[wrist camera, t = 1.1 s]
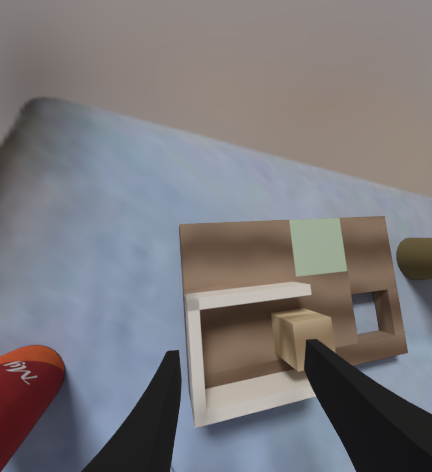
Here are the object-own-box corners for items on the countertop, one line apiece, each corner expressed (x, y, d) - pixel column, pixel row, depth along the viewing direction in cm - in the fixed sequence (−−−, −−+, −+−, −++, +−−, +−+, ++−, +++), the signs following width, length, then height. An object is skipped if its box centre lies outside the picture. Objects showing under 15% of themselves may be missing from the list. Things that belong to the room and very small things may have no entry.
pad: (334, 270, 27) (347, 271, 25) (286, 275, 26) (295, 276, 24) (327, 221, 28) (339, 218, 26) (280, 223, 26) (288, 219, 24)
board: (391, 346, 28) (407, 352, 26) (188, 391, 22) (191, 403, 20) (370, 219, 29) (384, 216, 28) (178, 227, 23) (179, 224, 21)
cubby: (303, 377, 22) (324, 394, 19) (191, 403, 20) (195, 428, 17) (292, 281, 23) (310, 284, 21) (184, 294, 21) (186, 299, 18)
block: (308, 345, 23) (337, 362, 19) (275, 352, 22) (298, 371, 18) (303, 308, 23) (330, 317, 19) (271, 313, 22) (292, 323, 19)
